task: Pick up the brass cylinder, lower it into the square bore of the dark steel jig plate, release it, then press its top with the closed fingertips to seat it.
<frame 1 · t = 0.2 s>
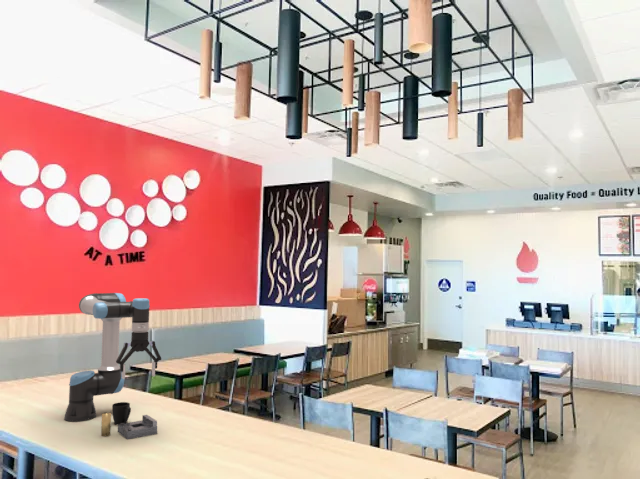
hand: (138, 377, 242), 27 cm above the table, fingers open, 13 cm apart
brass cylinder: (105, 435, 242), on the table
mug: (122, 424, 260), on the table
jig: (137, 432, 246), on the table
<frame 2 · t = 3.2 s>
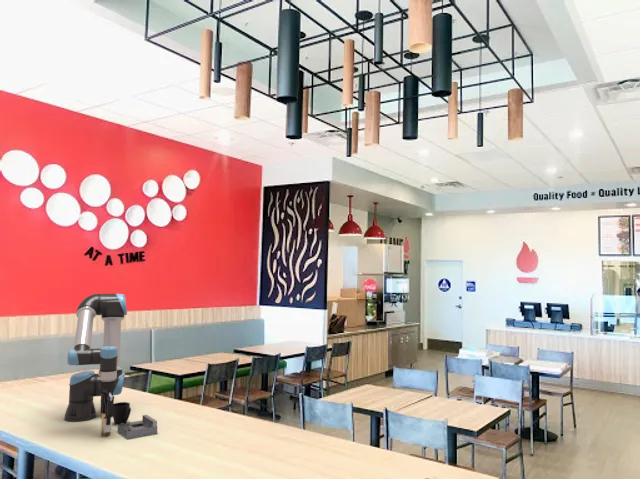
hand: (105, 430, 242), 2 cm above the table, fingers closed on brass cylinder, 4 cm apart
brass cylinder: (105, 435, 242), on the table, touching gripper
everything else where it was.
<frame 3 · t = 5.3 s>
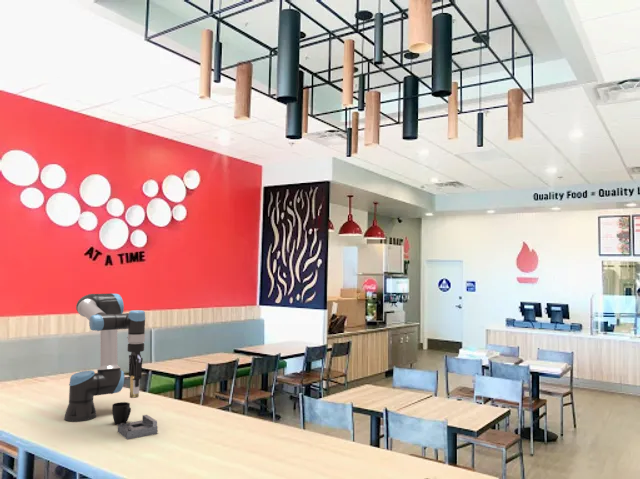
hand: (134, 392, 246), 19 cm above the table, fingers closed on brass cylinder, 4 cm apart
brass cylinder: (134, 397, 246), point 17 cm above the table, touching gripper
everything else where it was.
when the fingers open (5 cm above the table, at t = 7.6 s): brass cylinder drops 2 cm, resting in jig.
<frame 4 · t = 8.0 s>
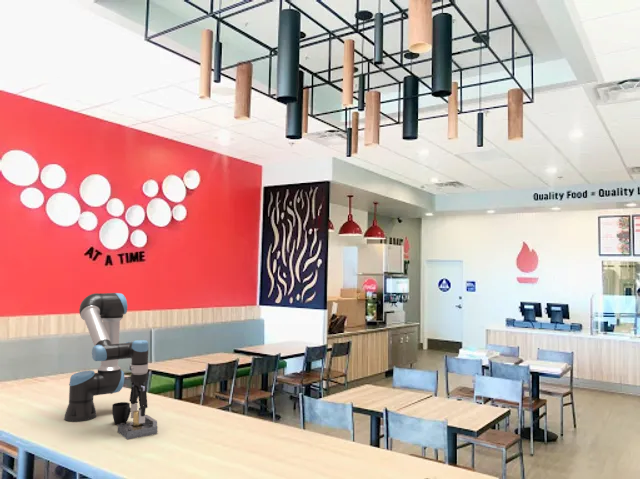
hand: (137, 420, 246), 6 cm above the table, fingers open, 10 cm apart
brass cylinder: (137, 432, 246), resting in jig
everything else where it was.
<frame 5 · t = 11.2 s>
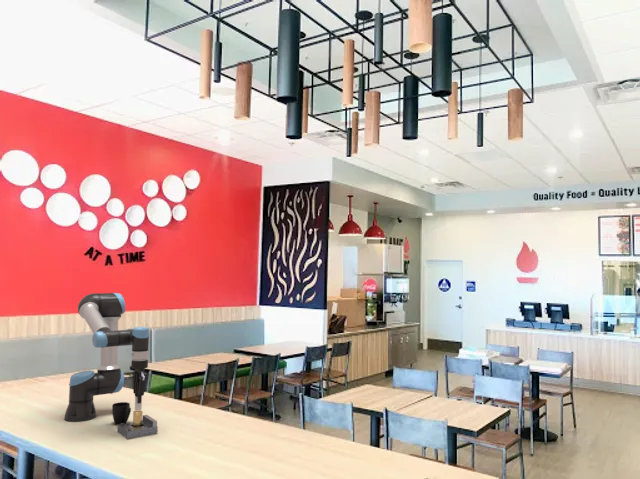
hand: (138, 409, 247), 11 cm above the table, fingers closed
nothing on the table moved.
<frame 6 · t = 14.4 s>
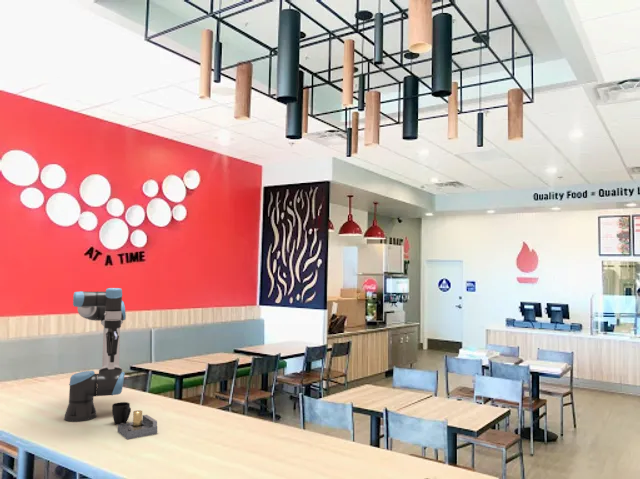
hand: (111, 368, 250), 29 cm above the table, fingers closed
nothing on the table moved.
at the end: brass cylinder 0.1 cm off-centre on the jig, point 0.0 cm above the jig's base; brass cylinder tilted 0°; the gripper is holding nothing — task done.
